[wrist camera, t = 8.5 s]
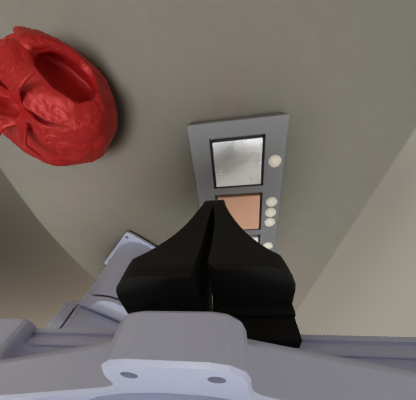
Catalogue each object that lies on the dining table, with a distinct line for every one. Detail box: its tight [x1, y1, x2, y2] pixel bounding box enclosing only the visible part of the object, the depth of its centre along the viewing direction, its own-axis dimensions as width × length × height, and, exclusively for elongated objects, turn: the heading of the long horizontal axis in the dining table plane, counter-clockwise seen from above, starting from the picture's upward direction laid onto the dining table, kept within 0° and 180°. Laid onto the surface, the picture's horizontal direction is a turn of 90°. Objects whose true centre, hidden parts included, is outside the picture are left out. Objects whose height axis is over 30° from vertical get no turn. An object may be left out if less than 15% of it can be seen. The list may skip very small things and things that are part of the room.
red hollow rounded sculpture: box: [0, 26, 118, 166], centre depth 14 cm, size 10×10×9 cm
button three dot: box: [218, 192, 260, 229], centre depth 21 cm, size 5×5×2 cm
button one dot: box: [213, 135, 263, 187], centre depth 18 cm, size 5×5×2 cm
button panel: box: [187, 112, 290, 252], centre depth 21 cm, size 20×9×3 cm, turn 6°
